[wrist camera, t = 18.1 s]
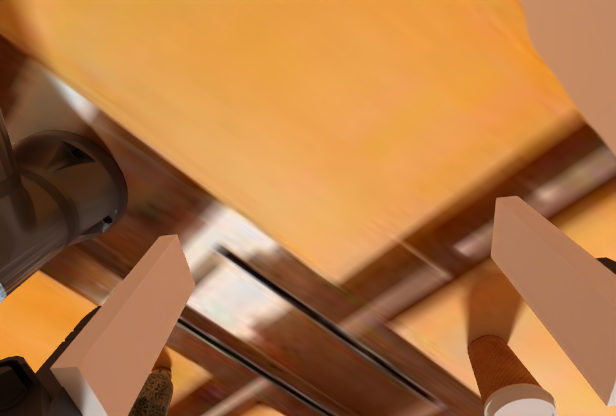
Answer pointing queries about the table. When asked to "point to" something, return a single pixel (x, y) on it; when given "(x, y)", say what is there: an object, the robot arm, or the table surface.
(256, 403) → the table surface
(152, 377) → the cup
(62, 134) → the robot arm
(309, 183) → the table surface
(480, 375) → the disposable coffee cup
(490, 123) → the table surface
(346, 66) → the table surface
